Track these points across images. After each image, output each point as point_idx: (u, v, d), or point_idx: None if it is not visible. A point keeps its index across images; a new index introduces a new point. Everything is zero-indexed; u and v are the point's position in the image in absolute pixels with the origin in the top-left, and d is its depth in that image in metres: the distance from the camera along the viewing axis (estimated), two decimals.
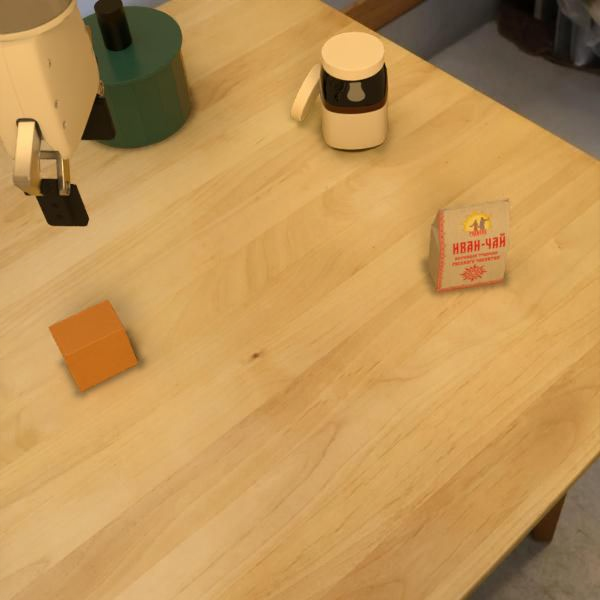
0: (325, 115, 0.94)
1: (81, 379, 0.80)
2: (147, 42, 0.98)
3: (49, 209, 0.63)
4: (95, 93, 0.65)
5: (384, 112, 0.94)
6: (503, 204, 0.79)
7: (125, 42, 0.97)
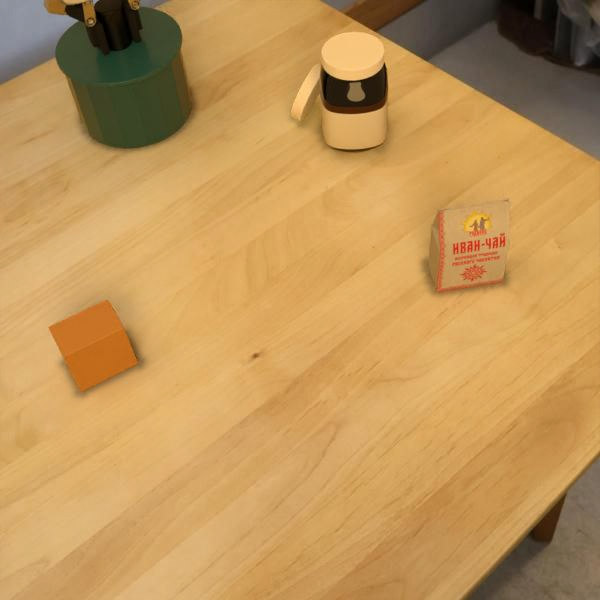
0: (325, 115, 0.94)
1: (81, 379, 0.80)
2: (147, 42, 0.98)
3: None
4: None
5: (384, 112, 0.94)
6: (503, 204, 0.79)
7: (125, 42, 0.97)
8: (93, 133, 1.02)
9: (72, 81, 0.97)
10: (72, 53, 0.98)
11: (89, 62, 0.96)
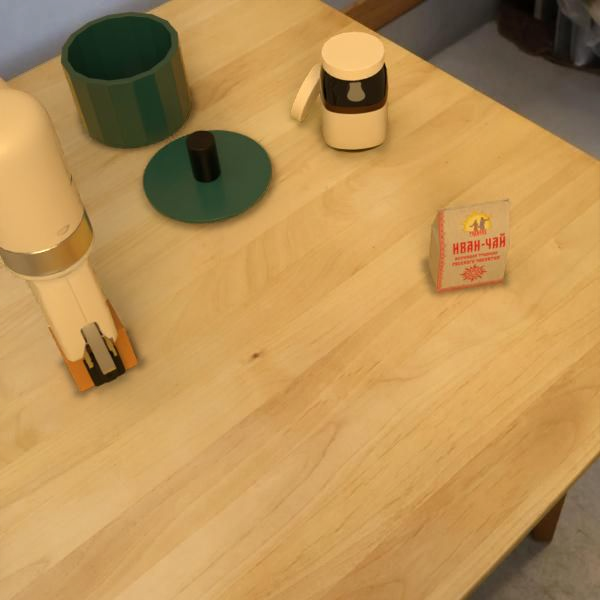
0: (325, 115, 0.94)
1: (81, 379, 0.80)
2: (236, 173, 0.97)
3: (101, 373, 0.79)
4: None
5: (384, 112, 0.94)
6: (503, 204, 0.79)
7: (215, 174, 0.96)
8: (93, 133, 1.02)
9: (72, 81, 0.97)
10: (160, 184, 0.96)
11: (179, 196, 0.95)
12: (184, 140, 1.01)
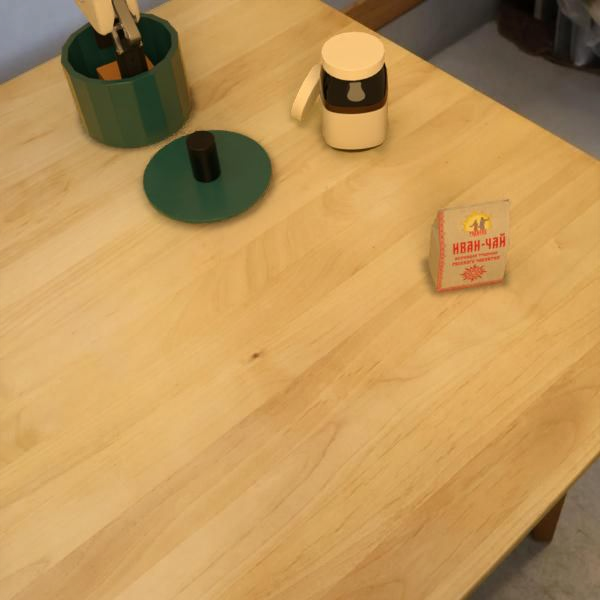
0: (325, 115, 0.94)
1: None
2: (236, 173, 0.97)
3: (129, 64, 0.95)
4: None
5: (384, 112, 0.94)
6: (503, 204, 0.79)
7: (215, 174, 0.96)
8: (93, 133, 1.02)
9: (72, 81, 0.97)
10: (160, 184, 0.96)
11: (179, 196, 0.95)
12: (184, 140, 1.01)
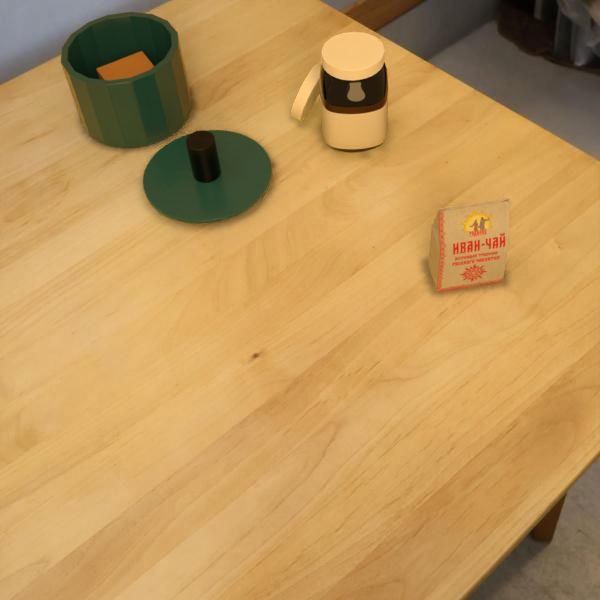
0: (325, 115, 0.94)
1: None
2: (236, 173, 0.97)
3: None
4: None
5: (384, 112, 0.94)
6: (503, 204, 0.79)
7: (215, 174, 0.96)
8: (93, 133, 1.02)
9: (72, 81, 0.97)
10: (160, 184, 0.96)
11: (179, 196, 0.95)
12: (184, 140, 1.01)
